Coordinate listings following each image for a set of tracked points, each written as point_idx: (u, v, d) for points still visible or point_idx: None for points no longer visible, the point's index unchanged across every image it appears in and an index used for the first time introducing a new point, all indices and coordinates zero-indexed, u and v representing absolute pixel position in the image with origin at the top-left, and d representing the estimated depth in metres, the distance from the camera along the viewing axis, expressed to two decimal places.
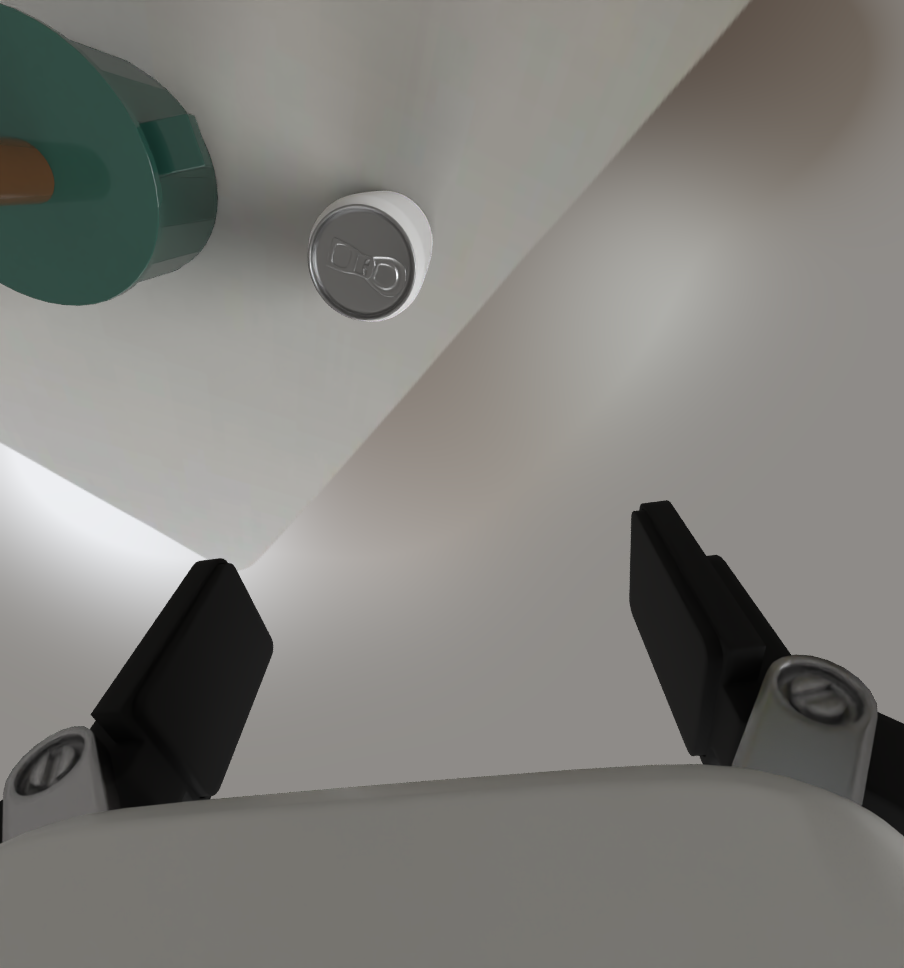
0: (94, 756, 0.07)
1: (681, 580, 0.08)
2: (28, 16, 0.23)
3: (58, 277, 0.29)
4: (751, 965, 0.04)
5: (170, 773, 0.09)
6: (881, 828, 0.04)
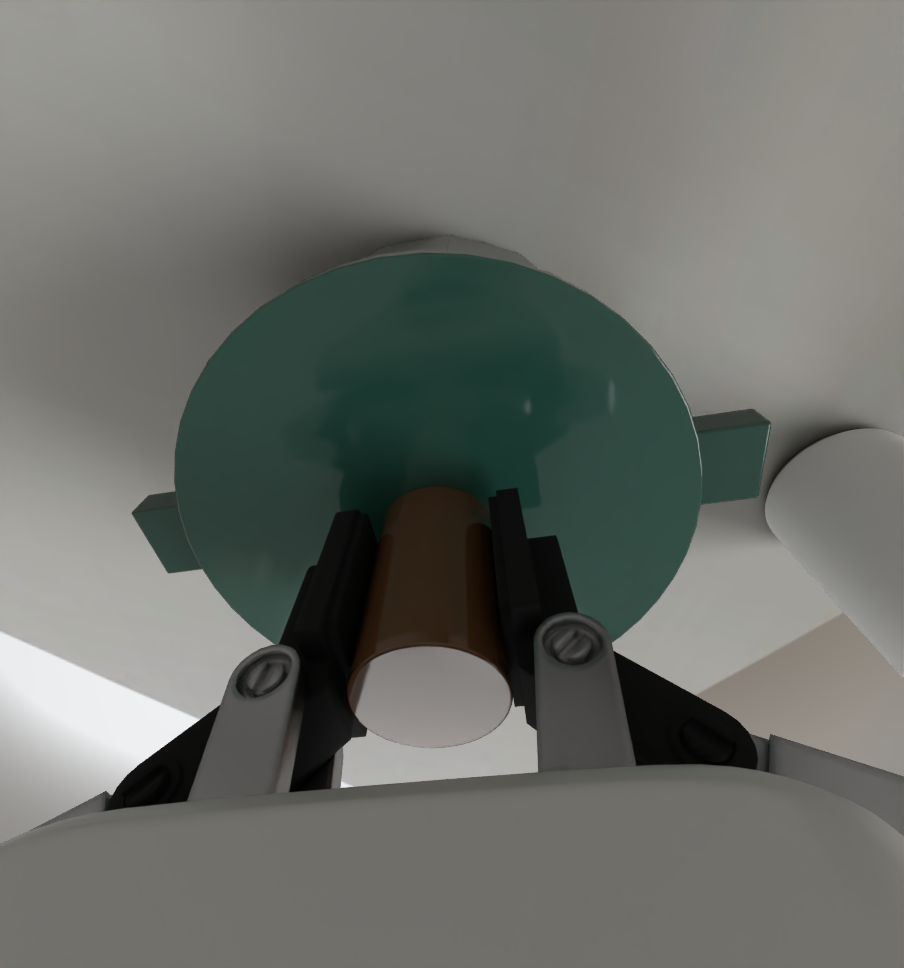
0: (292, 688, 0.08)
1: (500, 553, 0.10)
2: (576, 289, 0.10)
3: None
4: (751, 965, 0.04)
5: (346, 694, 0.10)
6: (881, 828, 0.04)
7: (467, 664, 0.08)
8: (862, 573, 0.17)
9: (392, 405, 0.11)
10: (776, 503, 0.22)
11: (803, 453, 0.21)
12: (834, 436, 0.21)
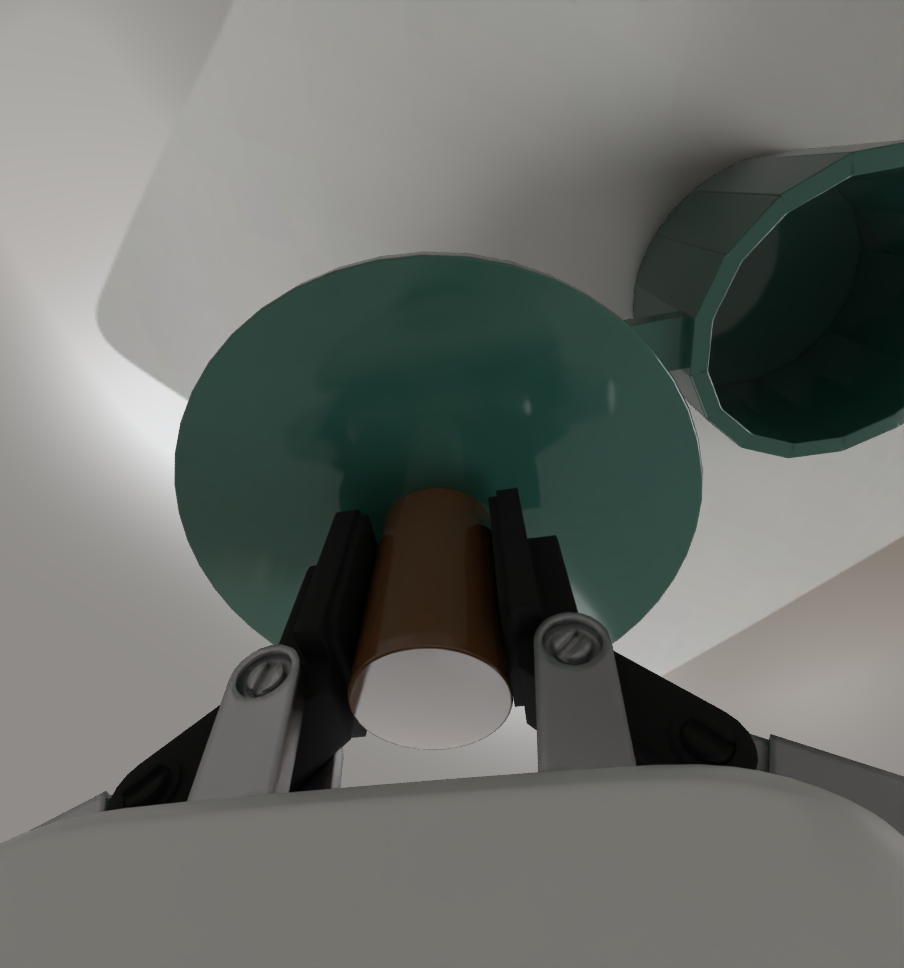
0: (292, 688, 0.08)
1: (500, 553, 0.10)
2: (576, 291, 0.10)
3: None
4: (751, 965, 0.04)
5: (346, 694, 0.10)
6: (881, 828, 0.04)
7: (467, 666, 0.08)
8: None
9: (392, 407, 0.11)
10: None
11: None
12: None
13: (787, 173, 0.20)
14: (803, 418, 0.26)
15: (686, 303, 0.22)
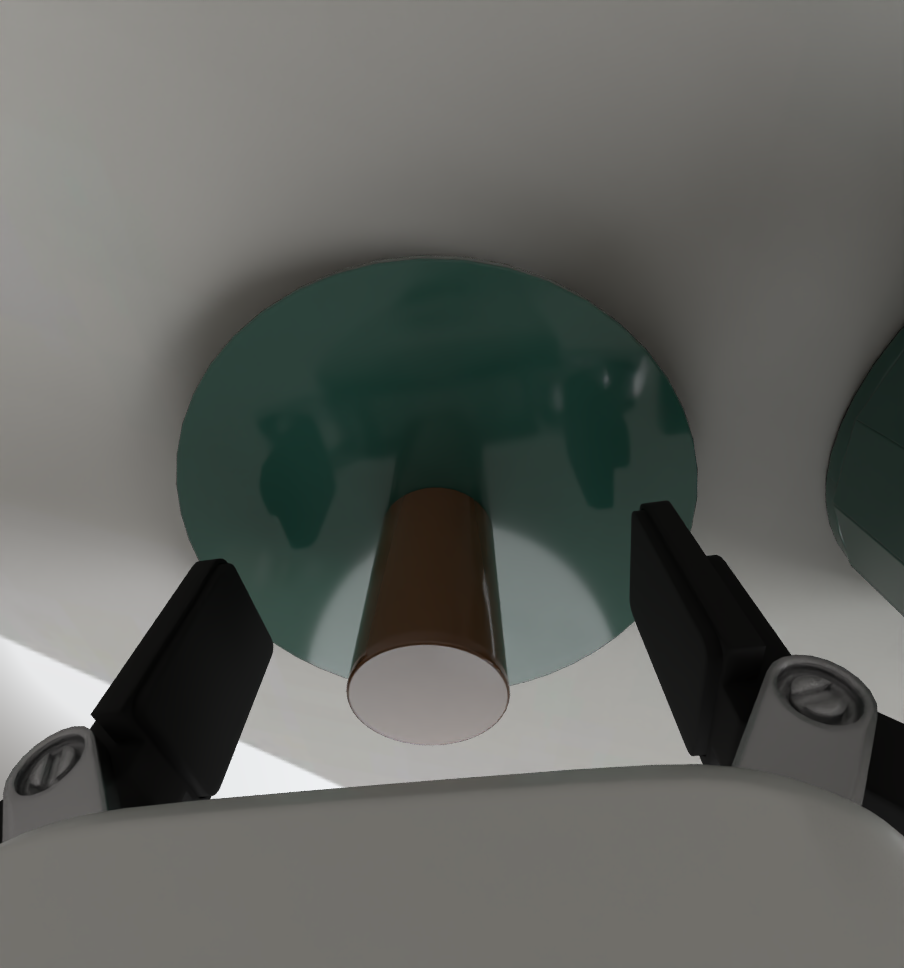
0: (94, 756, 0.07)
1: (681, 580, 0.08)
2: (572, 294, 0.10)
3: None
4: (751, 965, 0.04)
5: (170, 773, 0.09)
6: (881, 828, 0.04)
7: (465, 662, 0.09)
8: None
9: (391, 408, 0.11)
10: None
11: None
12: None
13: None
14: None
15: None
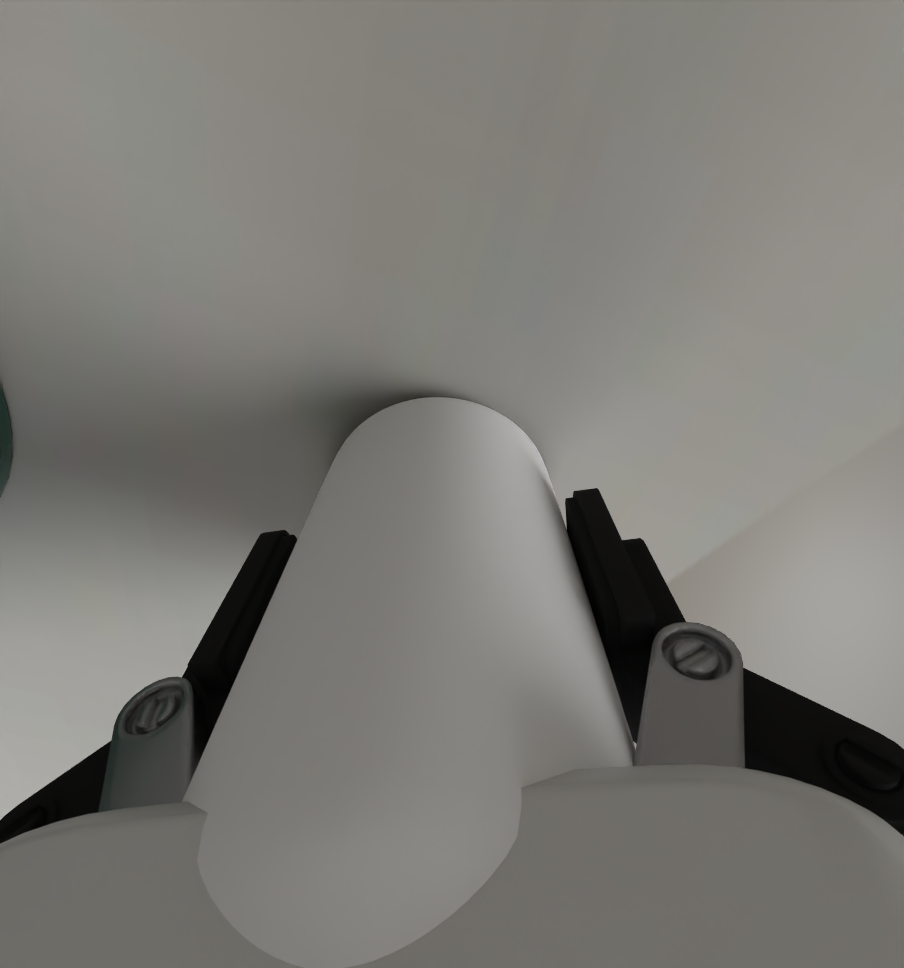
0: (189, 712, 0.08)
1: (595, 558, 0.09)
2: None
3: None
4: (751, 965, 0.04)
5: None
6: (881, 828, 0.04)
7: None
8: None
9: None
10: None
11: (347, 438, 0.13)
12: (383, 410, 0.13)
13: None
14: None
15: None
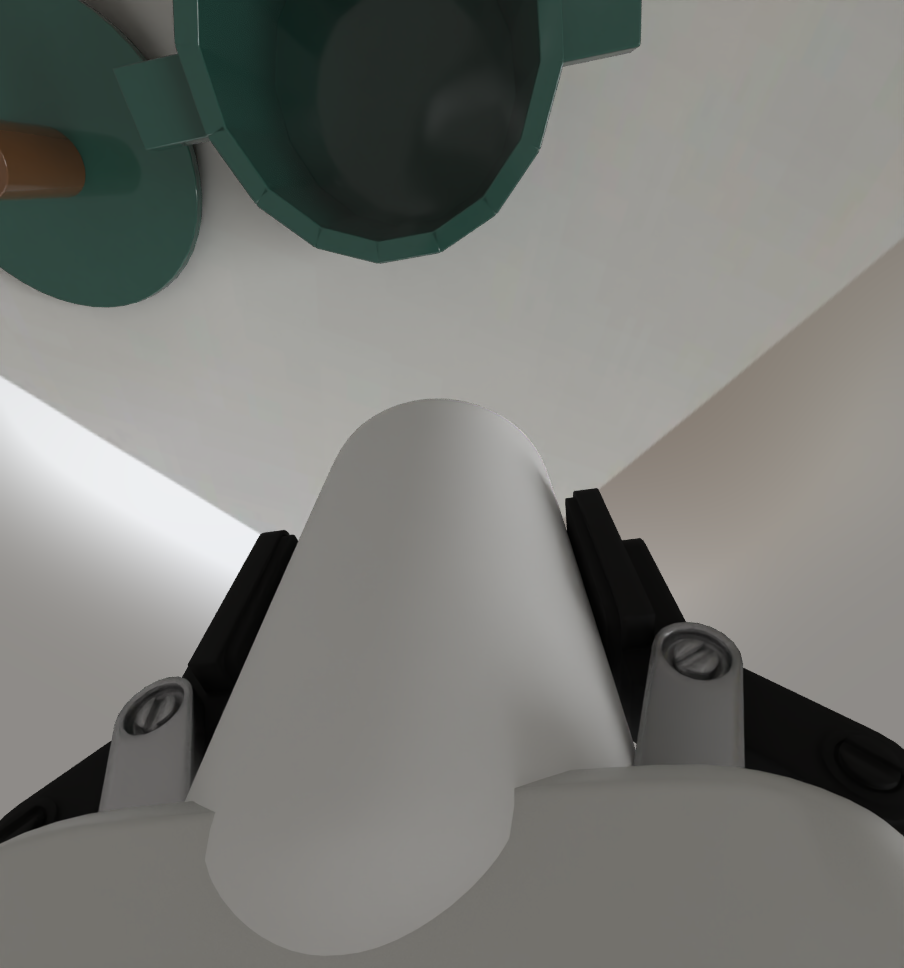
0: (189, 712, 0.08)
1: (595, 558, 0.09)
2: None
3: (86, 277, 0.27)
4: (751, 965, 0.04)
5: None
6: (881, 828, 0.04)
7: None
8: None
9: None
10: None
11: None
12: (383, 411, 0.13)
13: None
14: (424, 228, 0.21)
15: None
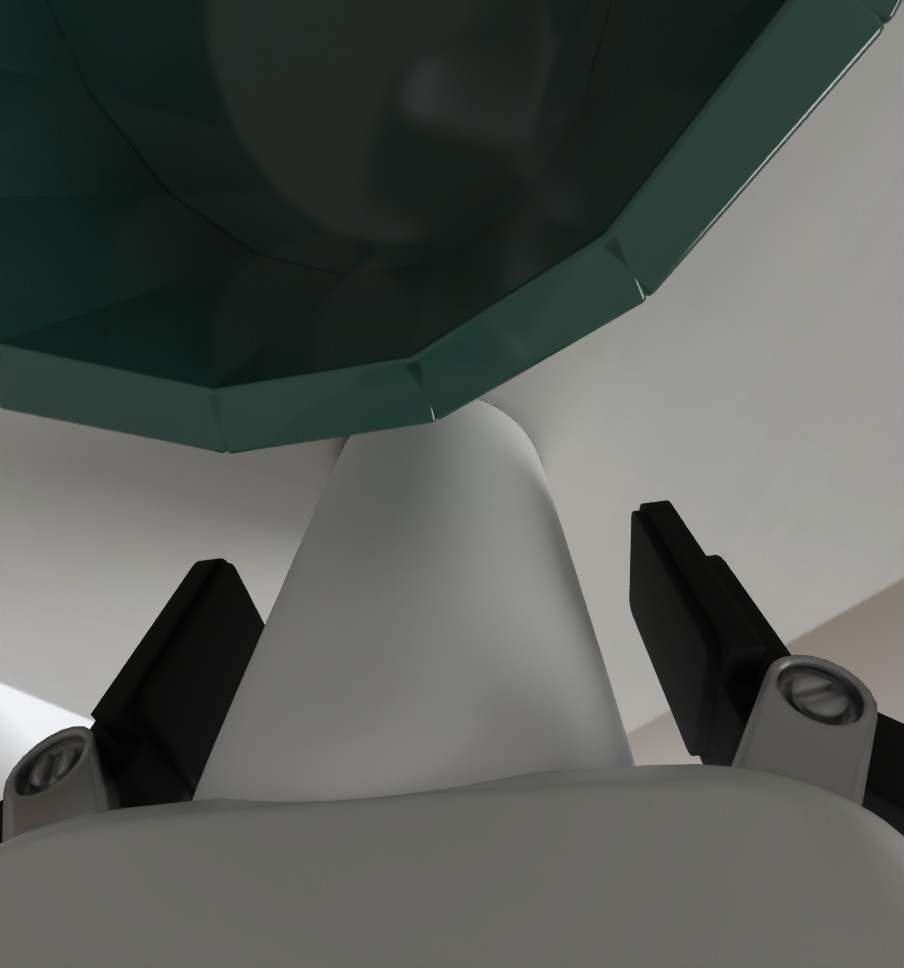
0: (94, 756, 0.07)
1: (681, 580, 0.08)
2: None
3: None
4: (751, 965, 0.04)
5: (170, 773, 0.09)
6: (881, 828, 0.04)
7: None
8: None
9: None
10: None
11: None
12: None
13: None
14: (389, 315, 0.07)
15: None
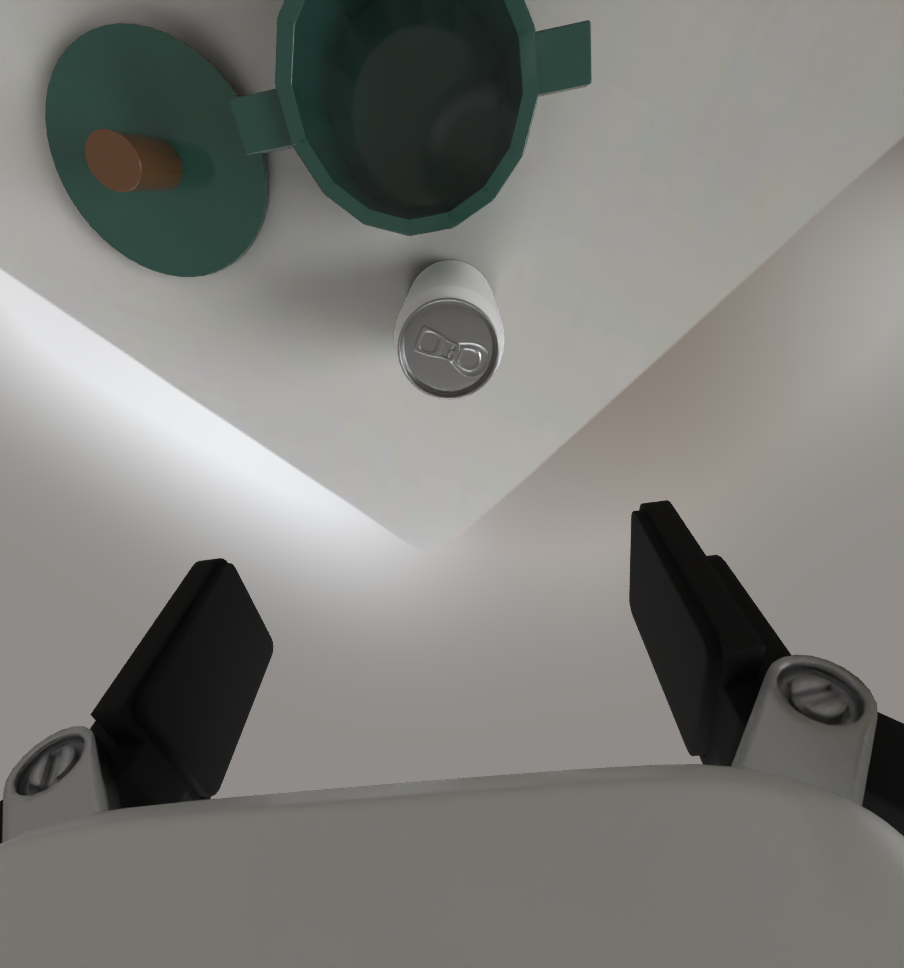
0: (94, 756, 0.07)
1: (681, 580, 0.08)
2: (176, 39, 0.29)
3: (176, 252, 0.35)
4: (751, 965, 0.04)
5: (170, 773, 0.09)
6: (881, 828, 0.04)
7: (118, 139, 0.27)
8: None
9: (124, 93, 0.30)
10: None
11: None
12: (430, 265, 0.36)
13: None
14: (440, 211, 0.29)
15: None
